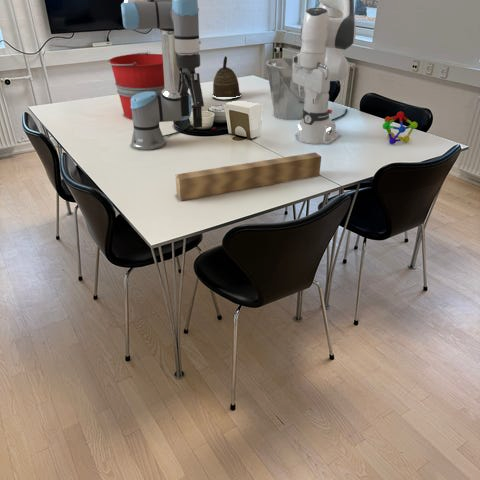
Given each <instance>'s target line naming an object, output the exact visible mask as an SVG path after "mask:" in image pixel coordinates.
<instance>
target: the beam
mask: <svg viewBox="0 0 480 480" xmlns="http://www.w3.org/2000/svg"><path fill="white" fill-rule="evenodd" d="M321 164H322V156H321V155H320V154H319V153H317V152H310V153H302V154H297V155H289V156H283V157H278V158H272V159H271V158H270V159H265V160H259V161H252V162H245V163H239V164H234V165H227V166H221V167H214V168H209V169H202V170H195V171H188V172H183V173H176V174H175V187H176V196H177V198H178V199H179V200H180V202H181V201H186V200H192V199H198V198H204V197H210V196H214V195H215V196H216V195H219V194H226V193H231V192H237V191H242V190H248V189H253V188H258V187H264V186H269V185H275V184H281V183H286V182H292V181H298V180H303V179H311V178H315V177H319V176H320V173H321V166H322V165H321Z"/></svg>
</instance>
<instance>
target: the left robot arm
mask: <svg viewBox="0 0 480 480" xmlns="http://www.w3.org/2000/svg"><path fill="white" fill-rule="evenodd" d="M120 7H121V8H120V9H121V17H122V25H123V26H122V27H123V28H124V29H126V30H133V31H136V30H153V29H154V30H155V29H157V30H158V31H159V32H160V38H161V52H162V53H161V55H162V56H163V71H164V86H165V88H164V89H162V92H161V93H162V95H157V94H156V92H153V91H152V92H150V91H147V92H142V93H138V94H136V95H134V96H132V98H131V109H132V117H133V119H132V125H133V132H132V135H131V142H130V143H131V147H132V148H134V149H135V150H141V151H151V150H153V151H154V150H157V149H161V148H163V147H164V146H165V144H166V140H165V138H166V137H169V136H173V135H176V134H179V133H181V132H184V131H185V130H187V129H189V128H190V127H192V126H191V124H190V125H188V126H186V127H184V128H182V129H180V130H178V131H175V132H172V133H169V134H168V133H167V134H163V132H162V130H161V127H160V123H165V122H166V123H167V122H182V121H188V120H189V119H190V118H191V116H192V124H193V128H194V129H198V128H203V120H202V119H203V113H202V112H203V111H202V110H203V109H202V107H205V103H204V96H203V92H202V86H201V81H200V79H201V78H200V72H196V69H197V68H199V67H200V66H201V54H200V53H199V52H200V51H201V50H200V48H201V47H200V45H201V44H202V41H201V40H200V29H199V28H200V27H199V25H200V24H199V20H200V19H199V11H200V9H199V2H198V0H123V2H122V3H121V4H120Z"/></svg>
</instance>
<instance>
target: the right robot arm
mask: <svg viewBox="0 0 480 480" xmlns="http://www.w3.org/2000/svg"><path fill="white" fill-rule="evenodd" d="M318 2H319V5H318V7H310V8H308V9H306V10H305V11H304V16H303V21H302V24H301V25H300V26H301V27H300V40H301V47H300V49H299V50H300V51H299V52H298V53H297V54H295V55H294V56H293V57H292V58H293V64H292V67H293V73H292V79H293V82H294V83H296V84H298V89H299V93H300V95H299V97H300V98H305V99H304V109H303V112H302V117H303V118H302V119H300V121H299V124H298V125H297V126H298V132H296V136H297V139H298V140H299V142H302V143H305V144H312V145H320V144H321V145H322V144H324V145H330V144H331V143H332V142H334V141H335V140H337V139H338V138H339V137H340V136H341V133H339V132H338V131H336V128H337V127H336V126H337V125H336V123H335V122H334V121H337V120H339V119H341V118H342V117H344V116H346V114H347V113H348V108H345V111H344V113H343V114H341V115H339V116H337V117H334V118H332V119H331V118H330V115H332V114H333V109H329V100H330V94H329V92H330V88H331V82H339V81H343V80H344V79H345V77H347V75H348V73H349V61H348V59H347V58H346V57H345V55H344V54H343V52H342V50H345V51H346V50H347V49H349V48H350V47H351V46H353V44H354V42H355V40H356V36H357V27H356V23H355V22H356V20H355V1H354V0H318Z"/></svg>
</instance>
